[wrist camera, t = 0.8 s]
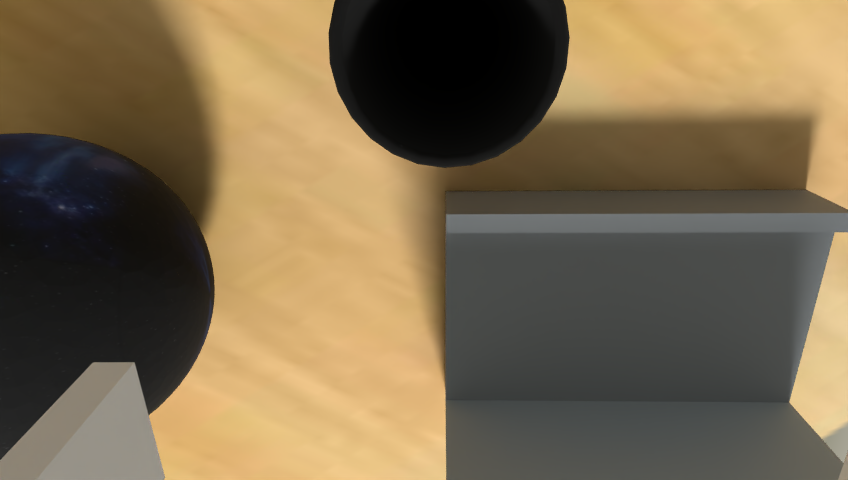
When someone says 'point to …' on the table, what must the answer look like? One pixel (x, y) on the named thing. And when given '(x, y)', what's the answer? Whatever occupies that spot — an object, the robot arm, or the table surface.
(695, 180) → the table surface
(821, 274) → the shelf
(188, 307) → the decorative sphere
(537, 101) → the cup
